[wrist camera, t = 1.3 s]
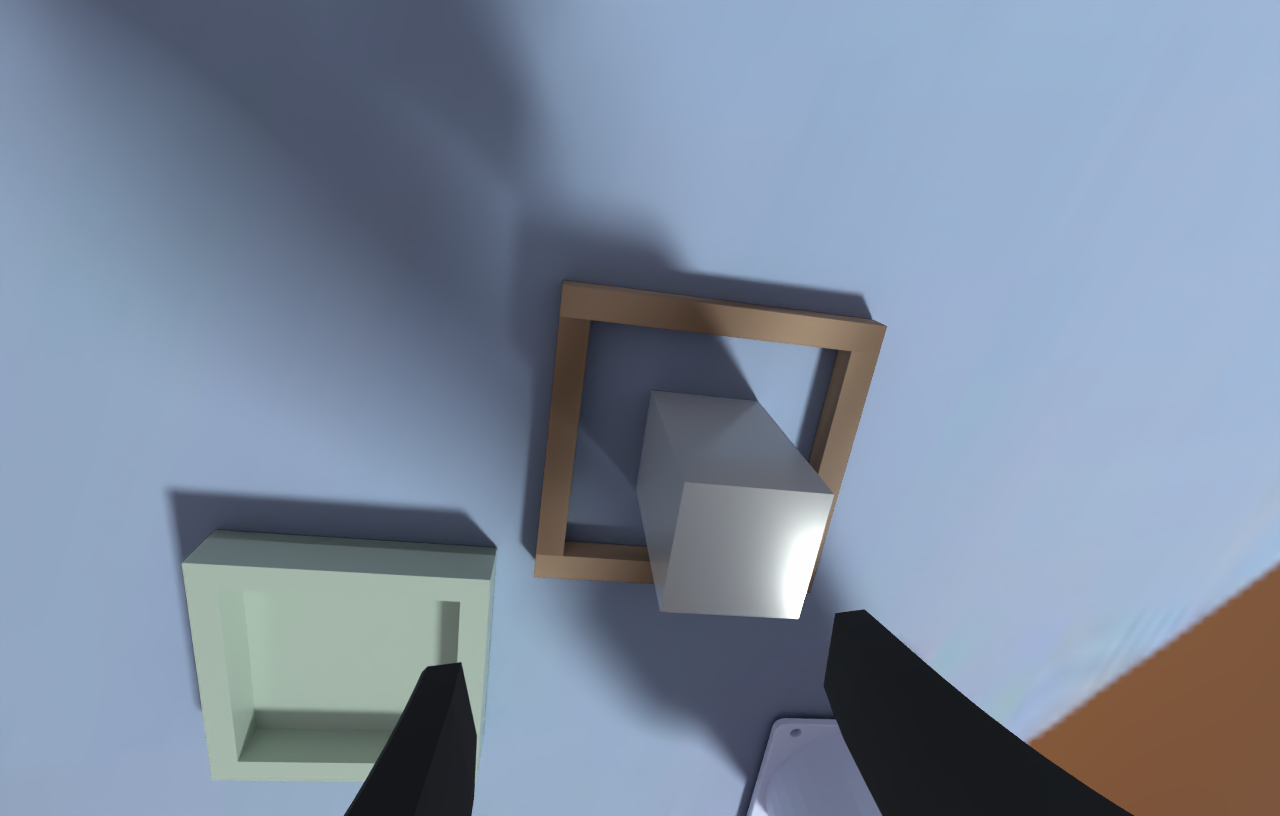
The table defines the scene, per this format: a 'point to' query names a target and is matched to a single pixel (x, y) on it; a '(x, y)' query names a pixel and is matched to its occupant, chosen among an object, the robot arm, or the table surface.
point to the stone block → (727, 508)
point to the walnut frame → (697, 315)
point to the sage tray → (327, 645)
